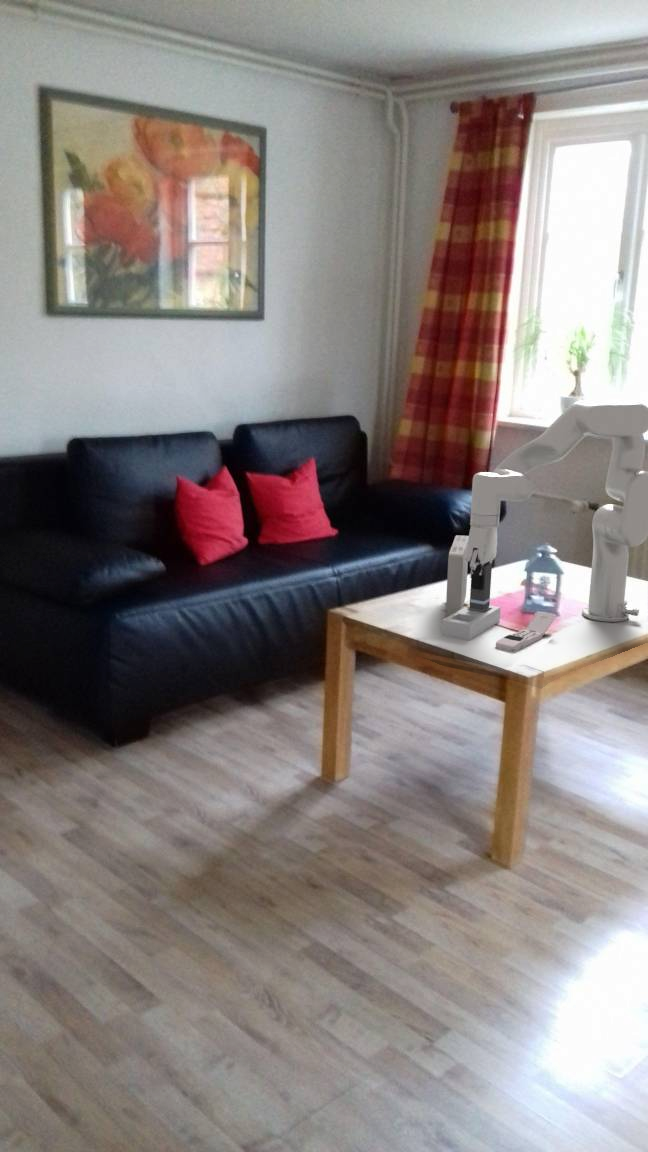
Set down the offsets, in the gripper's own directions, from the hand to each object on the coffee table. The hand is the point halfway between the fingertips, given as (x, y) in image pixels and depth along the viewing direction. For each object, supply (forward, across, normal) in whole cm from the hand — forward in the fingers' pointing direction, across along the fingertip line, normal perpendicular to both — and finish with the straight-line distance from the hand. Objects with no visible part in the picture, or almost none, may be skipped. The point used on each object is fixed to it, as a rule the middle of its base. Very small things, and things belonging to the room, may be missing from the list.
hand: (480, 586), depth 273 cm
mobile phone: (+12, +6, +16) cm, 20 cm away
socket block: (+11, +5, 0) cm, 12 cm away
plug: (+6, 0, 0) cm, 6 cm away
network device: (+11, -8, -11) cm, 18 cm away
